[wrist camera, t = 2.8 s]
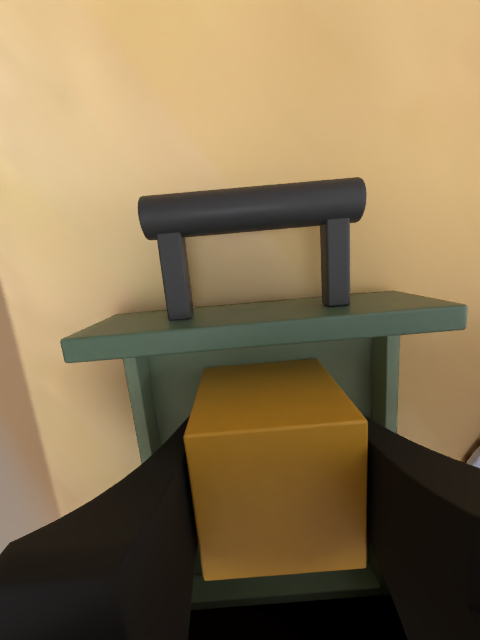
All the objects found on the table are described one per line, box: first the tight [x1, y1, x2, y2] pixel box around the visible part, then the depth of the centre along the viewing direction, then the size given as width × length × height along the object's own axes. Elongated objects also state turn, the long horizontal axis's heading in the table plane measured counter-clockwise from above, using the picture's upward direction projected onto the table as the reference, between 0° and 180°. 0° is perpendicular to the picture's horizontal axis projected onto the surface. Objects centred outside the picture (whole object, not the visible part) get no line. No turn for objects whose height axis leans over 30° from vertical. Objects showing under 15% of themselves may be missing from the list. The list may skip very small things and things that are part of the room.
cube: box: [183, 359, 368, 581], centre depth 10 cm, size 5×5×5 cm
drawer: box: [61, 177, 468, 610], centre depth 12 cm, size 18×12×4 cm
